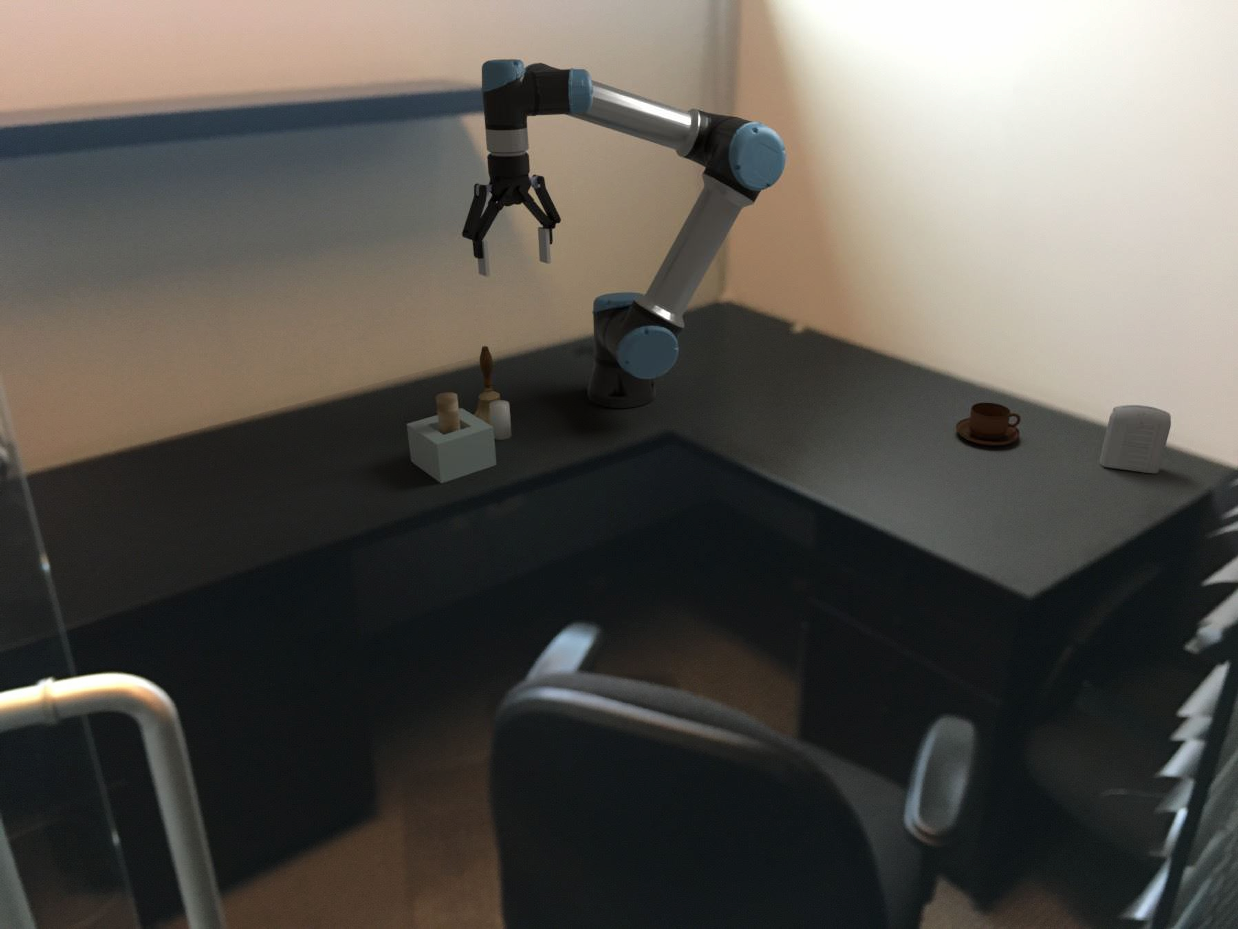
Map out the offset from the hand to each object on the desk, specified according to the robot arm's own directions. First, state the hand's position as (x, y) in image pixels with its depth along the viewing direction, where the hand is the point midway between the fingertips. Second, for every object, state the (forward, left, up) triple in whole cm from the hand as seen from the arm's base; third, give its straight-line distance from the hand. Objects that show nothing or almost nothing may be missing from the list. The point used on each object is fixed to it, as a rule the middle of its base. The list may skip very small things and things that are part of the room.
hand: (515, 268), depth 189 cm
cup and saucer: (-70, +60, -35) cm, 99 cm away
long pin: (+18, +2, -35) cm, 39 cm away
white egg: (+4, -3, -35) cm, 35 cm away
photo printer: (-79, +85, -35) cm, 121 cm away
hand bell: (+1, -12, -35) cm, 37 cm away
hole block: (+18, +2, -35) cm, 39 cm away
